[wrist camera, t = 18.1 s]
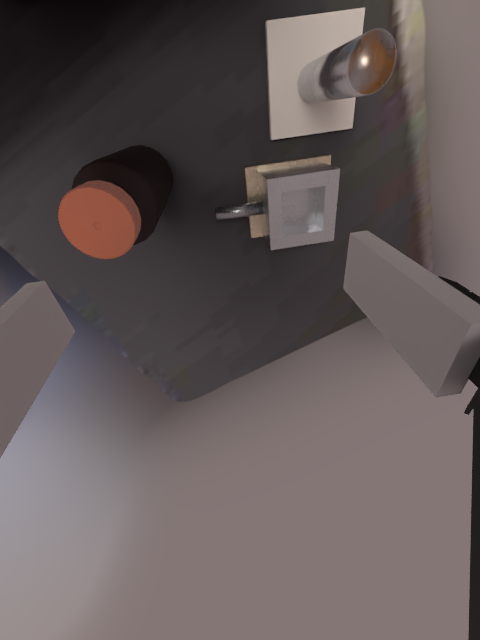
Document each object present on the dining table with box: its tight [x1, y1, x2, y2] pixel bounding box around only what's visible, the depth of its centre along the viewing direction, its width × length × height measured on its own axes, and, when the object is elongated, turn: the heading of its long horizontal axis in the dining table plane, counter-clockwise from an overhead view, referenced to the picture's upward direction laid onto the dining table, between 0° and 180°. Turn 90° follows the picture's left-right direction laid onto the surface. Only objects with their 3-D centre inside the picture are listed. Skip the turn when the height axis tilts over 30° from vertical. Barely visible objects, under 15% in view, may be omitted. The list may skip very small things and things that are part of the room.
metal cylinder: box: [297, 28, 397, 103], centre depth 25 cm, size 4×4×13 cm
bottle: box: [58, 145, 173, 259], centre depth 27 cm, size 7×7×20 cm
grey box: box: [215, 154, 340, 250], centre depth 35 cm, size 9×16×8 cm, turn 97°
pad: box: [265, 8, 365, 140], centre depth 31 cm, size 10×10×1 cm
